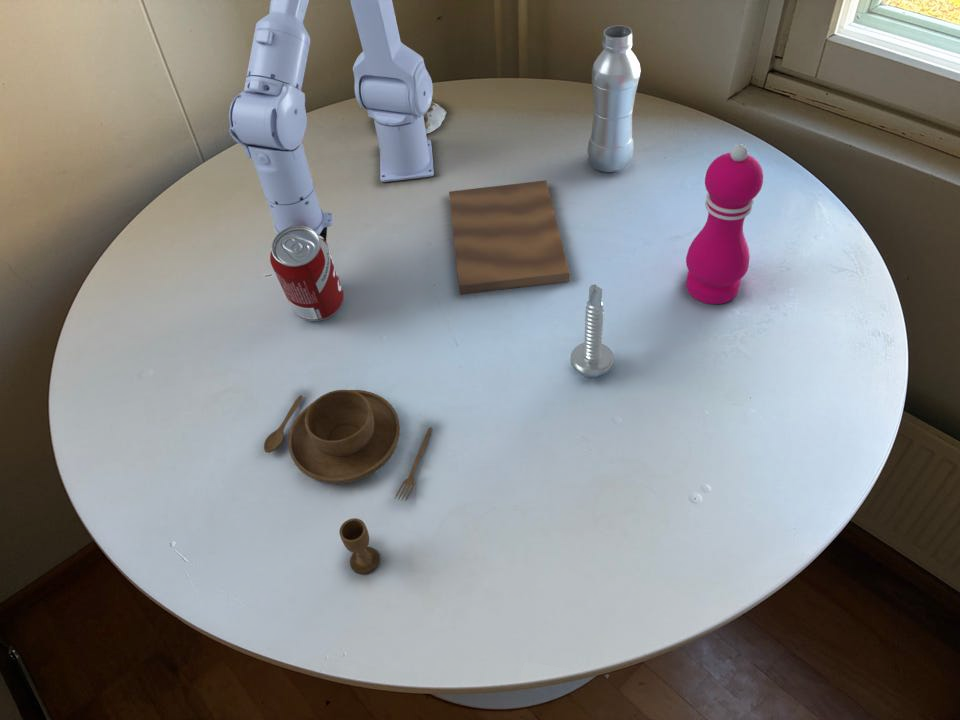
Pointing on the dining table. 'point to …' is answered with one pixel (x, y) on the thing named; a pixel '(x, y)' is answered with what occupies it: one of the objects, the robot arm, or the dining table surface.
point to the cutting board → (506, 238)
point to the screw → (593, 340)
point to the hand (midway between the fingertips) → (316, 277)
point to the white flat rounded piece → (433, 117)
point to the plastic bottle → (613, 101)
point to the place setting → (346, 451)
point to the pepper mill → (724, 228)
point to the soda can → (306, 273)
